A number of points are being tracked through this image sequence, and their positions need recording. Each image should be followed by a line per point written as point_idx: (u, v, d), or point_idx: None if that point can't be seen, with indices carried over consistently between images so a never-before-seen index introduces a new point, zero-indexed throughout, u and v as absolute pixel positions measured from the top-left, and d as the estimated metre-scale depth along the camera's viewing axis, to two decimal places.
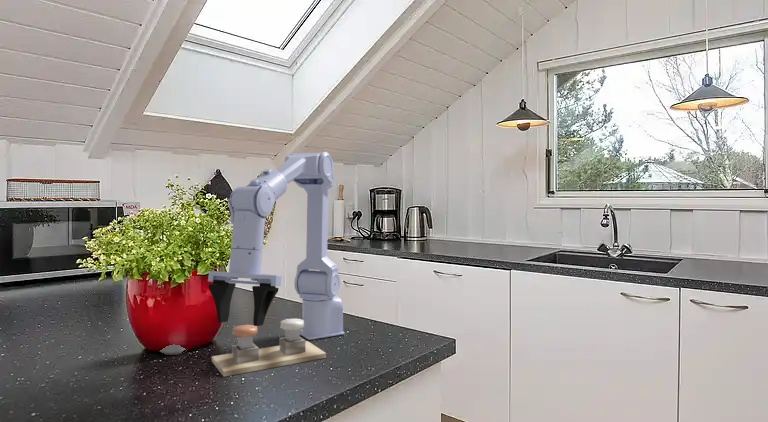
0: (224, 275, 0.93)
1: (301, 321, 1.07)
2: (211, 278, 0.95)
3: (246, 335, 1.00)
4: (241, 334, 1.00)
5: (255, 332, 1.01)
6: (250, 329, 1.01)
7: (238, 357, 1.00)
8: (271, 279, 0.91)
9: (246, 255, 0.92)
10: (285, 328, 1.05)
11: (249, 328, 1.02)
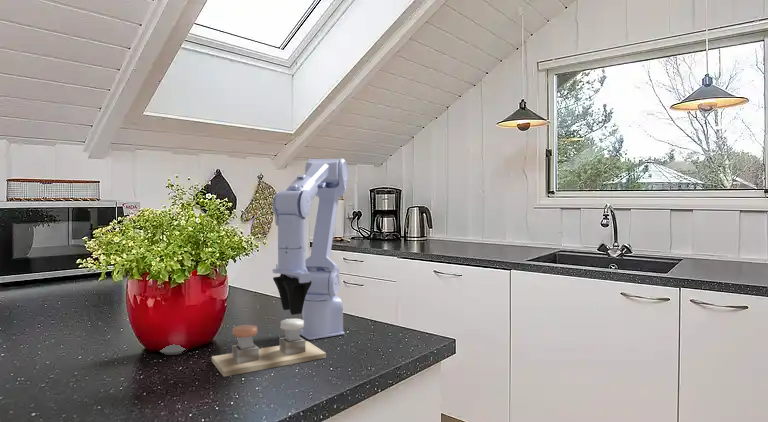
0: None
1: (301, 321, 1.07)
2: None
3: (246, 335, 1.00)
4: (241, 334, 1.00)
5: (255, 332, 1.01)
6: (250, 329, 1.01)
7: (238, 357, 1.00)
8: (298, 276, 1.01)
9: (283, 254, 1.04)
10: (285, 328, 1.05)
11: (249, 328, 1.02)
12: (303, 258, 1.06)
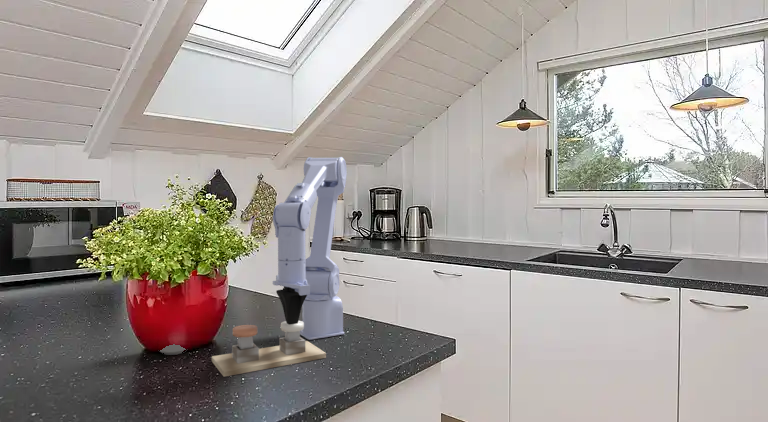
0: None
1: (301, 323, 1.07)
2: None
3: (246, 335, 1.00)
4: (241, 334, 1.00)
5: (255, 332, 1.01)
6: (250, 329, 1.01)
7: (238, 357, 1.00)
8: (298, 289, 1.01)
9: (283, 266, 1.04)
10: (285, 330, 1.05)
11: (249, 328, 1.02)
12: (303, 270, 1.06)
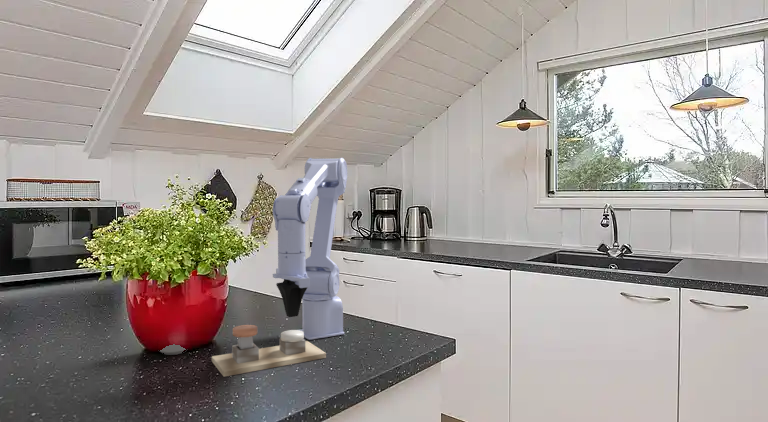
0: None
1: (301, 333, 1.07)
2: None
3: (246, 335, 1.00)
4: (241, 334, 1.00)
5: (255, 332, 1.01)
6: (250, 329, 1.01)
7: (238, 357, 1.00)
8: (298, 281, 1.01)
9: (283, 259, 1.04)
10: (285, 340, 1.05)
11: (249, 328, 1.02)
12: (303, 263, 1.06)
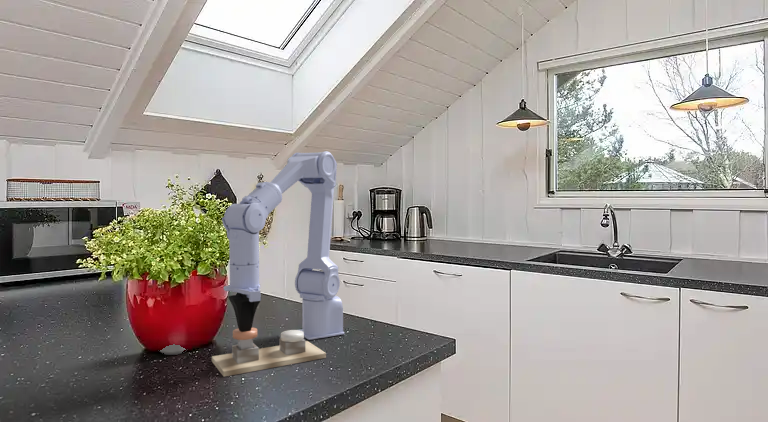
0: None
1: (301, 333, 1.07)
2: None
3: (246, 337, 1.00)
4: (241, 336, 1.00)
5: (255, 334, 1.01)
6: (250, 331, 1.01)
7: (238, 357, 1.00)
8: (248, 295, 0.96)
9: (234, 271, 0.99)
10: (285, 340, 1.05)
11: None
12: (256, 275, 1.01)
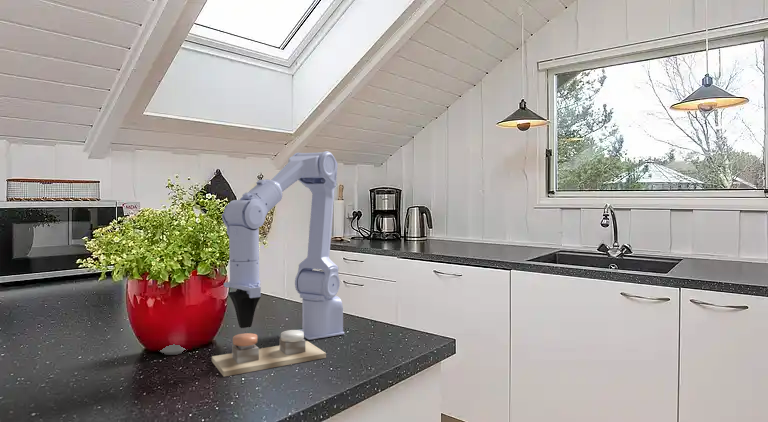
0: None
1: (301, 333, 1.07)
2: None
3: (246, 344, 1.00)
4: (241, 343, 1.00)
5: (255, 341, 1.01)
6: (250, 338, 1.01)
7: (238, 357, 1.00)
8: (248, 291, 0.96)
9: (234, 267, 0.99)
10: (285, 340, 1.05)
11: (249, 337, 1.02)
12: (256, 271, 1.01)
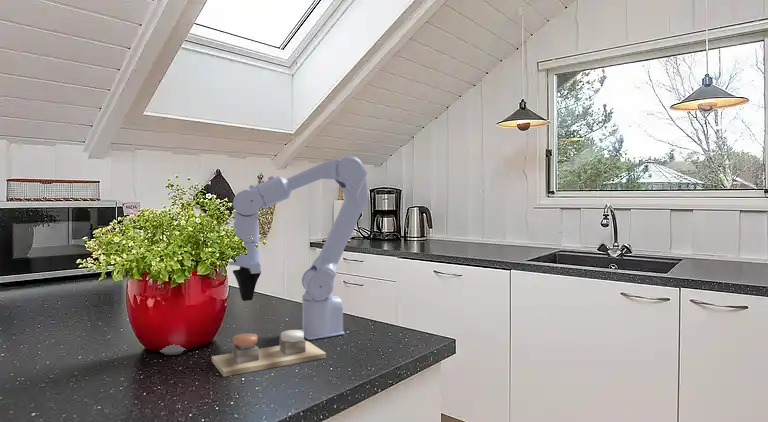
0: None
1: (301, 333, 1.07)
2: None
3: (246, 344, 1.00)
4: (241, 343, 1.00)
5: (255, 341, 1.01)
6: (250, 338, 1.01)
7: (238, 357, 1.00)
8: (250, 268, 1.12)
9: None
10: (285, 340, 1.05)
11: (249, 337, 1.02)
12: (256, 251, 1.17)
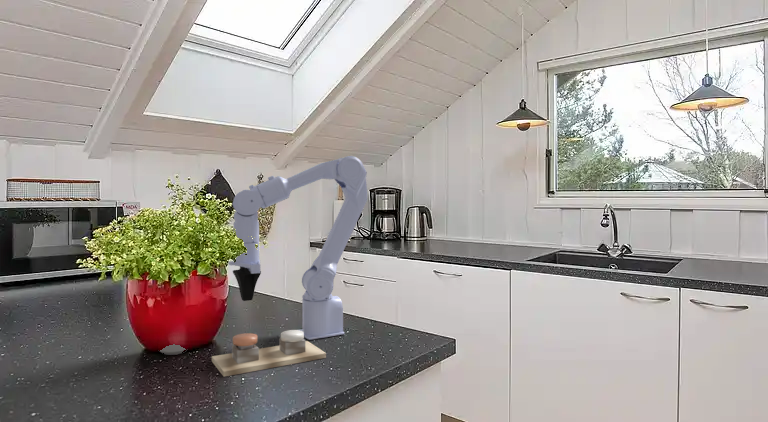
0: None
1: (301, 333, 1.07)
2: None
3: (246, 344, 1.00)
4: (241, 343, 1.00)
5: (255, 341, 1.01)
6: (250, 338, 1.01)
7: (238, 357, 1.00)
8: (250, 268, 1.12)
9: None
10: (285, 340, 1.05)
11: (249, 337, 1.02)
12: (256, 251, 1.17)
